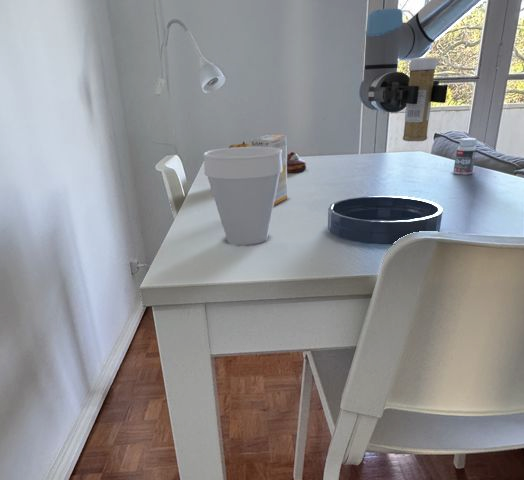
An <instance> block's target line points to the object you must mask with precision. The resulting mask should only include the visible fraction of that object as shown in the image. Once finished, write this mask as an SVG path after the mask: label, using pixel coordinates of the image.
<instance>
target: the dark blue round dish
mask: <svg viewBox="0 0 524 480" xmlns="http://www.w3.org/2000/svg"><path fill="white" fill-rule="evenodd" d="M442 207H443V206H440V205H439V204H437V203H435V202H433V201H429V200H426V199H421V198H415V197H408V196H398V195H397V196H395V195H372V196H358V197H357V196H356V197H349V198H345V199H341V200H337V201H335V202H333V203H331V204H330V205H329V206H328V209H327V229H328V232H329V233H331V235H334V236H336V237H338V238H340V239H344V240H346V241H347V240H348V241H351V242H357V243H361V244H368V245H369V244H370V245H394V244H393V243H394V242H395V241H397V240H398V239H399V238H401V237H403V236H405V235H407V234H410V233H413V232H419V231H438V232H439V233H440V231H441V224H442V218H443V212H444V210H443V208H442Z"/></svg>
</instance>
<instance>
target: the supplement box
mask: <svg viewBox="0 0 524 480" xmlns="http://www.w3.org/2000/svg"><path fill="white" fill-rule="evenodd" d="M287 143H288V142H287V134H267V135H263V136H260V137H259V136H258V137H255V138H252V139H250V140H249V144H250V147H273V148H279V149H281V150H282V153H281V157H282V169H283V170H282V172H281V173H280V176H279V181H278V186H277V191H276V196H275V201H274V206H275V205H278V204H280V203H281V202H283V201H284V200H287V199H288V172H287V154H288V152H287V145H288V144H287Z"/></svg>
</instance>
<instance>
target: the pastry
mask: <svg viewBox="0 0 524 480" xmlns="http://www.w3.org/2000/svg"><path fill="white" fill-rule="evenodd" d="M306 169H307V162H306V161H305V160H304V159H301V158H300V156H299V155H298V154H297V153H296V152H295V151H291V152H290V153H287V173H300V172H304V171H306Z"/></svg>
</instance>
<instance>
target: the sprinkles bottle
mask: <svg viewBox="0 0 524 480" xmlns="http://www.w3.org/2000/svg"><path fill="white" fill-rule="evenodd" d="M437 62H438V59H437V57H434V56H424V57H422V58H414V59H411V60H410V62H409V68H408V69H409V70H408V71H409V77H410V78H409V86H419V91H418V100H417V104H408V103H406V108H405V114H404V128H403V135H402V140H403V141H405V142H424V141H426V140H427V139H428V130H429V129H428V128H429V121H430V117H431V107H432V102H431V97H432V88H433V81H434V79H435V73H436V70H437V64H438V63H437Z"/></svg>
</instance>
